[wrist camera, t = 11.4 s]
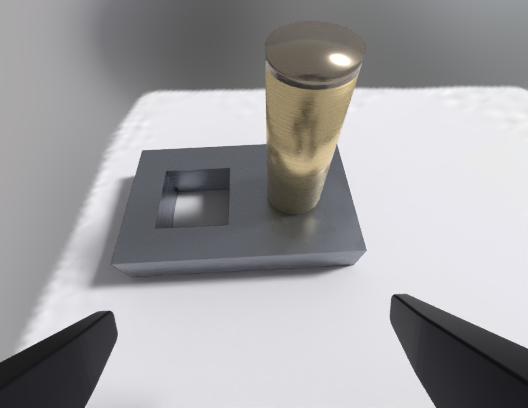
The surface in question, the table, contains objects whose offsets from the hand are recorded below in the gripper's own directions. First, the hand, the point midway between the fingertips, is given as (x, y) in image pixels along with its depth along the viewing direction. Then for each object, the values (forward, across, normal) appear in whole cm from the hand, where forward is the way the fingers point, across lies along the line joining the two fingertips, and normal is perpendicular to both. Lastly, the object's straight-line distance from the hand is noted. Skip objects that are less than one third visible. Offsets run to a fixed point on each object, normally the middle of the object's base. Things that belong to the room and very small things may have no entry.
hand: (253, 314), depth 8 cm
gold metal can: (+15, -3, -1) cm, 16 cm away
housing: (+18, +2, +1) cm, 18 cm away
